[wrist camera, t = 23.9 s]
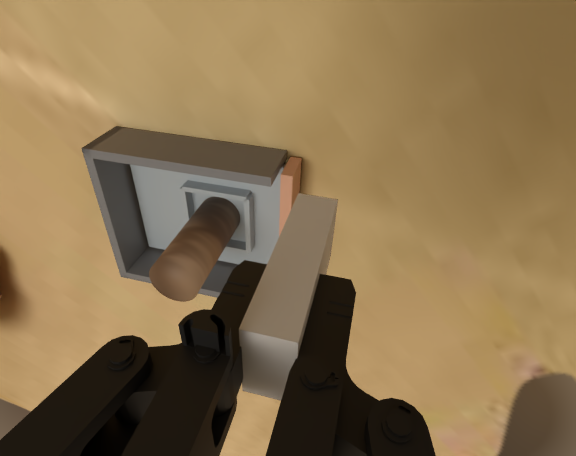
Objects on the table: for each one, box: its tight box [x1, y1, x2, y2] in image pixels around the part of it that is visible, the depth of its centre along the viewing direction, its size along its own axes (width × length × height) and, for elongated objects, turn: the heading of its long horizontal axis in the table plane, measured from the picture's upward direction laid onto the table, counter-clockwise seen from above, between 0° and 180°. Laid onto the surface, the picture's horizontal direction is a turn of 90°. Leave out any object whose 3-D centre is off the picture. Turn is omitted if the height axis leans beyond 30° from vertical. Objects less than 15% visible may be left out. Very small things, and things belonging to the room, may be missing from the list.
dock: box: [82, 126, 287, 298], centre depth 46 cm, size 20×18×6 cm
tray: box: [130, 157, 302, 264], centre depth 46 cm, size 20×17×4 cm
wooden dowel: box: [149, 196, 240, 301], centre depth 42 cm, size 5×5×12 cm
